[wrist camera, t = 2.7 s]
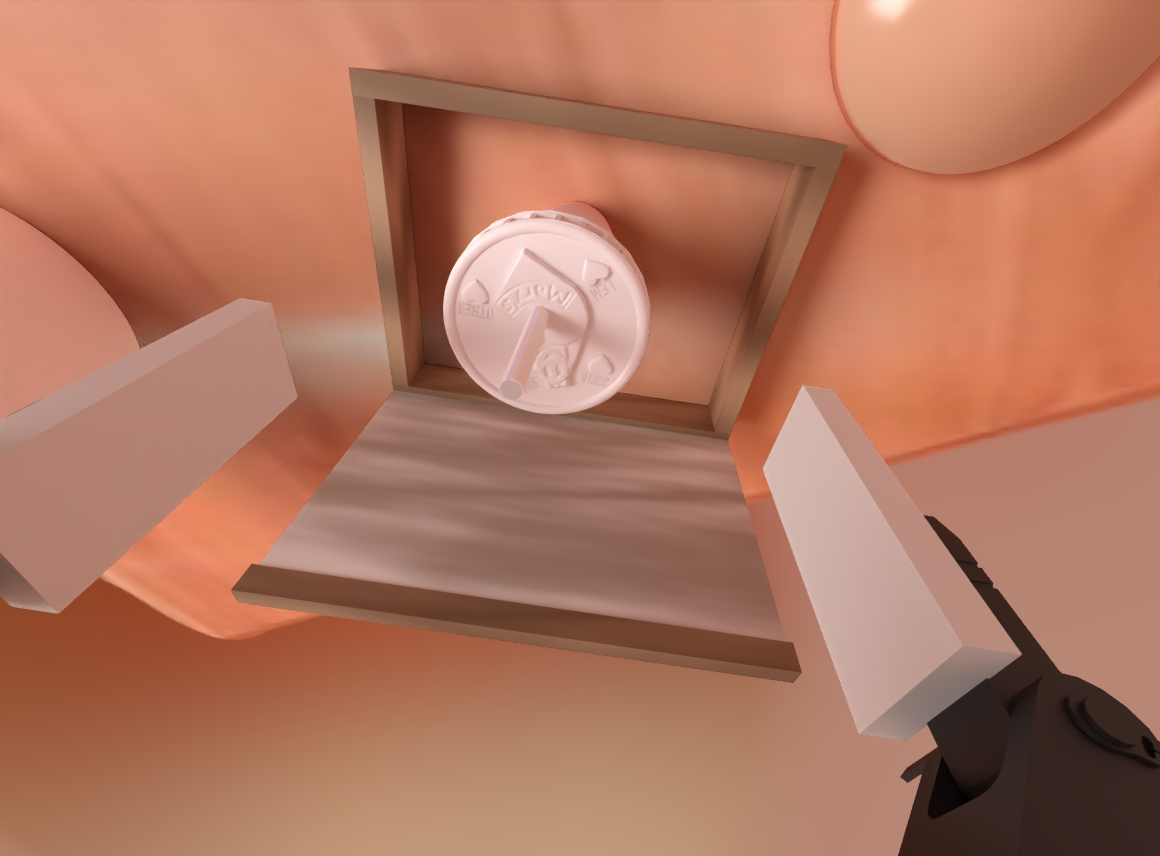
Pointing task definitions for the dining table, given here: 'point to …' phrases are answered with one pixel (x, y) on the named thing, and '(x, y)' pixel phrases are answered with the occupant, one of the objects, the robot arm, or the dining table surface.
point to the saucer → (982, 73)
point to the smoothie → (548, 310)
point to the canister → (51, 318)
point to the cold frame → (547, 451)
